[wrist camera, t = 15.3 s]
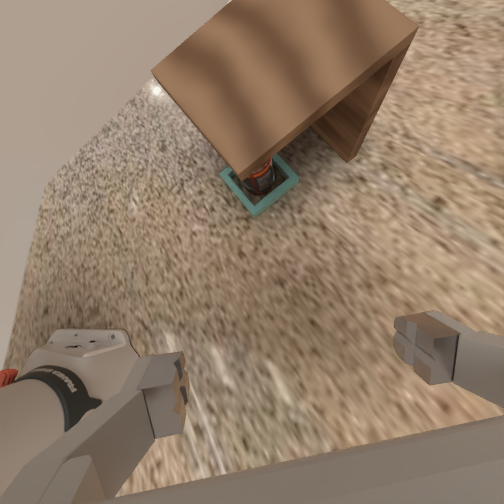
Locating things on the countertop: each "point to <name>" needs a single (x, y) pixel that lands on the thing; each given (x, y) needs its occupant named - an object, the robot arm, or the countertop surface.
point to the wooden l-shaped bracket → (286, 74)
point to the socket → (271, 197)
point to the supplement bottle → (260, 179)
